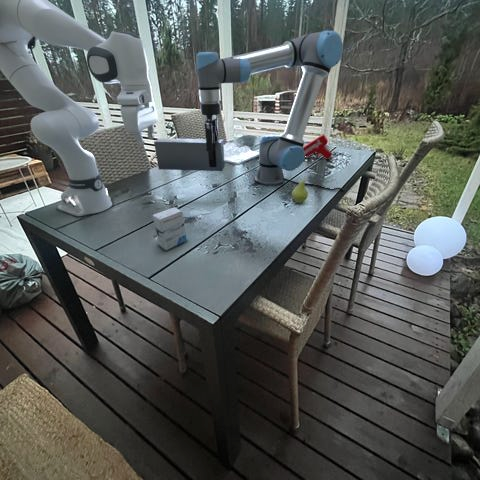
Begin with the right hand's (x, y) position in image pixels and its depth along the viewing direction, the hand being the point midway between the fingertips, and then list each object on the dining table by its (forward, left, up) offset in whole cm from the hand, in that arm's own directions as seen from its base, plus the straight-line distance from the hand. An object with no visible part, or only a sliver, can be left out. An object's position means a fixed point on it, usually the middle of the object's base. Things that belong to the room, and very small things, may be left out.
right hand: (214, 164), depth 113 cm
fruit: (-35, -11, -17) cm, 41 cm away
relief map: (+21, -73, -17) cm, 78 cm away
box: (+10, +2, -2) cm, 10 cm away
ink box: (+2, +36, -17) cm, 40 cm away
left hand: (+15, +23, +13) cm, 30 cm away
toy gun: (-35, -82, -17) cm, 91 cm away
